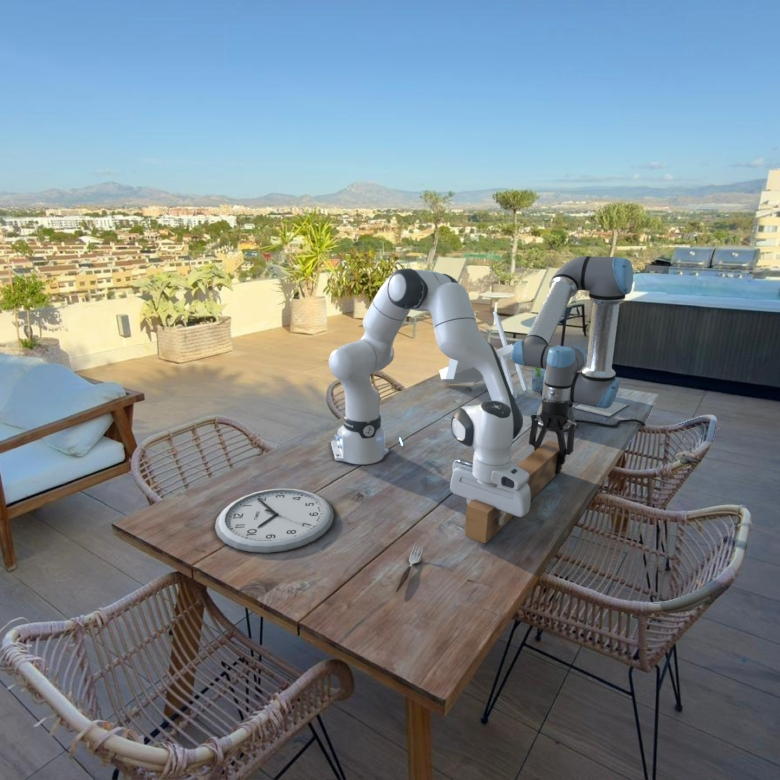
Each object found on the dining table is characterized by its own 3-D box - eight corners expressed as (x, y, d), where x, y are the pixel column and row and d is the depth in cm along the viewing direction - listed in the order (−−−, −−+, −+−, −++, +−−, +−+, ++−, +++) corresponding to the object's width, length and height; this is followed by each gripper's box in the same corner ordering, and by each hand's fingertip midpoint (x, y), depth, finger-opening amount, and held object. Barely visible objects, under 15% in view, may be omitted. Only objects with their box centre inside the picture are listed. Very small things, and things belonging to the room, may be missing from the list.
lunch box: (548, 398, 236) (553, 353, 229) (527, 393, 243) (531, 349, 237) (575, 387, 253) (581, 344, 247) (555, 382, 260) (560, 341, 254)
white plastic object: (461, 429, 252) (437, 405, 227) (444, 352, 274) (420, 323, 250) (535, 404, 240) (518, 377, 215) (510, 326, 262) (492, 293, 237)
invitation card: (608, 416, 214) (573, 407, 224) (608, 416, 214) (573, 408, 224) (628, 404, 229) (594, 396, 238) (628, 405, 229) (594, 397, 238)
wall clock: (332, 544, 122) (200, 548, 120) (332, 550, 123) (201, 555, 120) (334, 484, 151) (228, 486, 148) (334, 489, 151) (228, 491, 149)
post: (545, 464, 168) (547, 440, 165) (562, 469, 165) (565, 444, 162) (464, 535, 128) (466, 505, 125) (485, 543, 125) (487, 512, 122)
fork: (390, 592, 109) (390, 584, 108) (413, 550, 123) (413, 543, 123) (402, 595, 108) (402, 587, 107) (424, 552, 122) (424, 545, 122)
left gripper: (446, 461, 129) (444, 510, 133) (525, 486, 117) (519, 539, 121) (459, 452, 134) (456, 500, 138) (536, 476, 122) (530, 527, 126)
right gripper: (521, 395, 157) (514, 465, 164) (583, 409, 147) (573, 483, 154) (531, 390, 163) (524, 457, 170) (592, 402, 153) (581, 474, 160)
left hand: (486, 519), depth 130 cm, fingers closed on post, 5 cm apart
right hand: (547, 469), depth 162 cm, fingers closed on post, 6 cm apart
